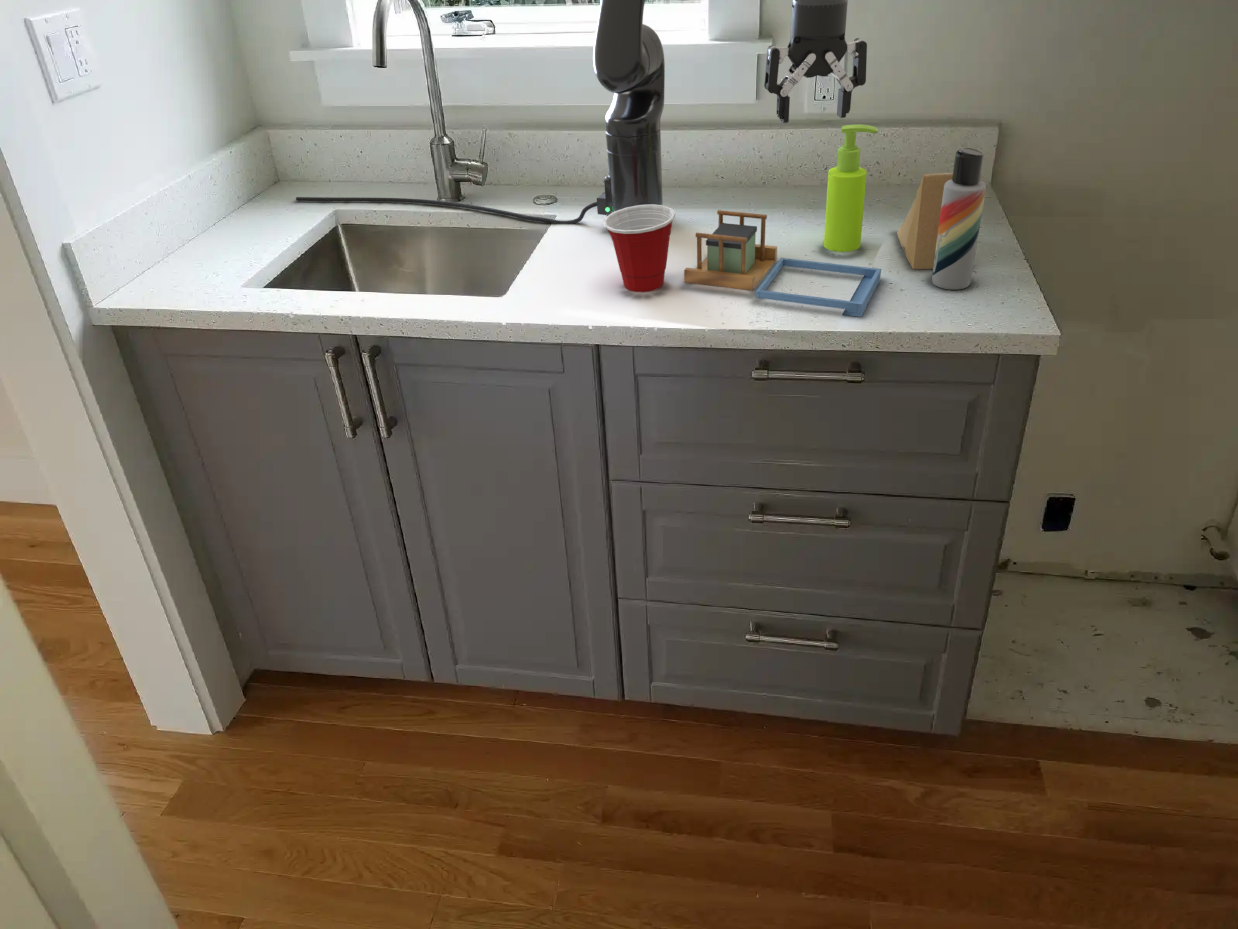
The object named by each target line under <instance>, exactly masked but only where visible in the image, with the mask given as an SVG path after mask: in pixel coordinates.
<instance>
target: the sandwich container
mask: <svg viewBox="0 0 1238 929" xmlns="http://www.w3.org/2000/svg"><path fill="white" fill-rule="evenodd" d="M952 176H953V171H952V172H939V173H924V174H923V176H922V178H921V181H920V183H919V186H918V189H917V190H916V193H915V195H914V198H913V200H912V202H911V204H910V206H909V209H908V210H907V213H906V214H905V217H904V219H903V221H902V222H901V225H900V226H899V229H898V231H897V232H896V235H897V238H898V240H899V243H900V246H901V248H902V250H903V252H904V254H905V258H906V259H907V262H908V263H909V265H910V266H911V268H912V270H933V266H934V258H935V251H936V243H937V236H938V228H939V221H940V213H941V206H942V198H943V191H944V185H945V183H946V182H947V181H949V180H951V179H952ZM980 181H982V176H981V177H980Z"/></svg>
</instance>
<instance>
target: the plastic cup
mask: <svg viewBox="0 0 1238 929" xmlns="http://www.w3.org/2000/svg"><path fill="white" fill-rule="evenodd" d="M675 217H676V212H675V210H674V209H673V208H672V207H670V206H667V205H664V204H663V205H654V204H651V205H637V206H632V207H627V208H624V209H621V210H618V211H615V212H613V213H611V214H610V215H608V216H607V217H606V216H605V218H604V219H603V221H602V223H603V225H604V227H605V229H606V230H607V229H608V231H607V232H608V233H609V236H610V238H611V240H612V244H613V249H614V252H615V256H616V260H617V264H618V268H619V271H620V275H621V279H622V284H623V286H624V288H625V289H626V290H628V291H631V292H634V293H647V292H648V293H649V292H653V291H657V290H658V289H660V288H662V287H663V284H664V281H665V273H666V269H667V263H668V262H667V261H668V255H669V254H668V253H669V247H670V239H671V238H670V237H671V234H672V228H673V221H674V218H675Z"/></svg>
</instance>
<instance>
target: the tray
mask: <svg viewBox="0 0 1238 929" xmlns="http://www.w3.org/2000/svg"><path fill="white" fill-rule="evenodd" d="M783 267H793V268H801V269H808V270H817V271H826V272H834V273H835V272H836V273H844V274H852V275H861V276H862V278H861V280H860V281H859V284H858V285H857V287H856V289H855V291H854V292H853V294H852V296H851V297H850V299H849V300H842V299H836V298H829V297H822V296H812V295H806V294H805V295H804V294H798V293H790V292H789V293H788V292H780V291H774V290H773V291H772V290H767V289H768V287H769V286H770V285H771V283H772V281H773V280H774V279H775V278H776V276H777V275H778V274H779V272H780V271H781V270H782V268H783ZM881 275H882V268H875V267H868V266H859V265H851V264H841V263H840V264H839V263H832V262H831V263H830V262H824V261H823V262H822V261H815V260H814V261H813V260H805V259H795V258H786V257H780V258H779V260H778V261H777V262H776V264H775V265H774V266H773V268H771V270H770V272H769V273H768V274H767V275H766V277H765V278H764V279H763V281H762V282H761V284H760V285H759V286H758V288H756V291H755V298H756V299H757V298H758V299H765V300H771V301H781V302H789V303H795V304H804V305H811V306H812V305H813V306H818V307H819V306H820V307H825V308H826V307H829V308H835V309H843V312H842V314H841V315H842V316H851V317H857V318H858V317H860V318H861V317H862V316H863V314H864V312H865V310H866V309H867V306H868V305H869V303H870V301H871V299H872V297H873V296H874V293H875V291H876V289H877V287H878V286H879V284H880V282H881Z"/></svg>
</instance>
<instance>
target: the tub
mask: <svg viewBox="0 0 1238 929" xmlns="http://www.w3.org/2000/svg"><path fill="white" fill-rule="evenodd" d="M757 232H758V226H757V225H749V224H748V225H747V224H744V225H740V224H737V223H728V222H727V223H726V222H723V223H722V224H721V225H720V226H719V225H718V227H717V228H716V229H715V230H714V231H713V233H712V234H716V235H725V236H735V237H744V238H747V242H746V266H745V274H746V273H747V272H748V271H749V269H750V268H751V267H752V266H753V264H754V263H755V244H756V235H757ZM705 246H707V247H706V248H707V249H706V257H707V270H711V271H719V240H718V239H708V238H706V240H705ZM723 272H728V273H736V274H741V242H736V241H727V240H724V245H723Z"/></svg>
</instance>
